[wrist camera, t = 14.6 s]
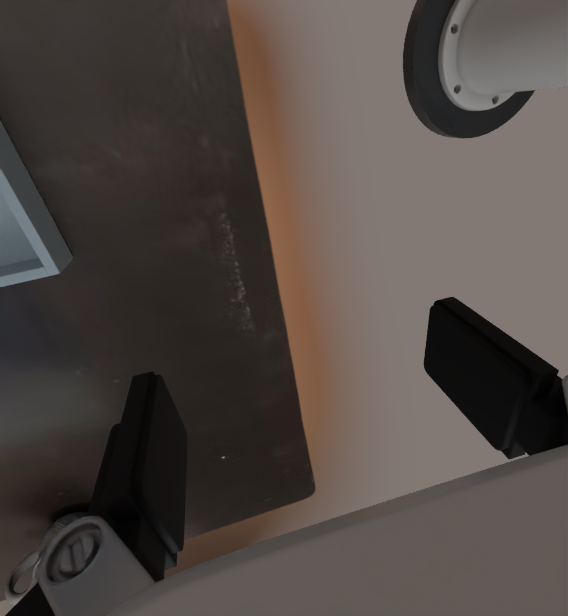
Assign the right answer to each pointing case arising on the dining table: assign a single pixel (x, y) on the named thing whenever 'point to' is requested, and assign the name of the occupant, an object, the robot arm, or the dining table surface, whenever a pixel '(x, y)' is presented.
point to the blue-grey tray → (25, 224)
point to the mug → (37, 557)
